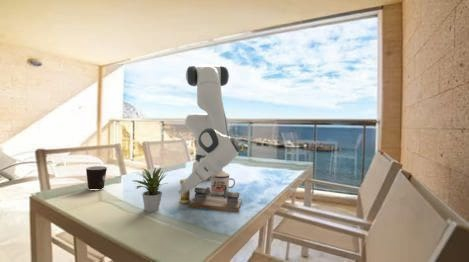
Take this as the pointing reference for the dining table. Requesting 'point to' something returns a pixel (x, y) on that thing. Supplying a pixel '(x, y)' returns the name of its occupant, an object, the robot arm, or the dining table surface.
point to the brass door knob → (184, 195)
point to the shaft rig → (215, 200)
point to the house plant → (151, 190)
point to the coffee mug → (96, 177)
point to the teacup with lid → (220, 183)
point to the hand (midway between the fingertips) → (184, 189)
